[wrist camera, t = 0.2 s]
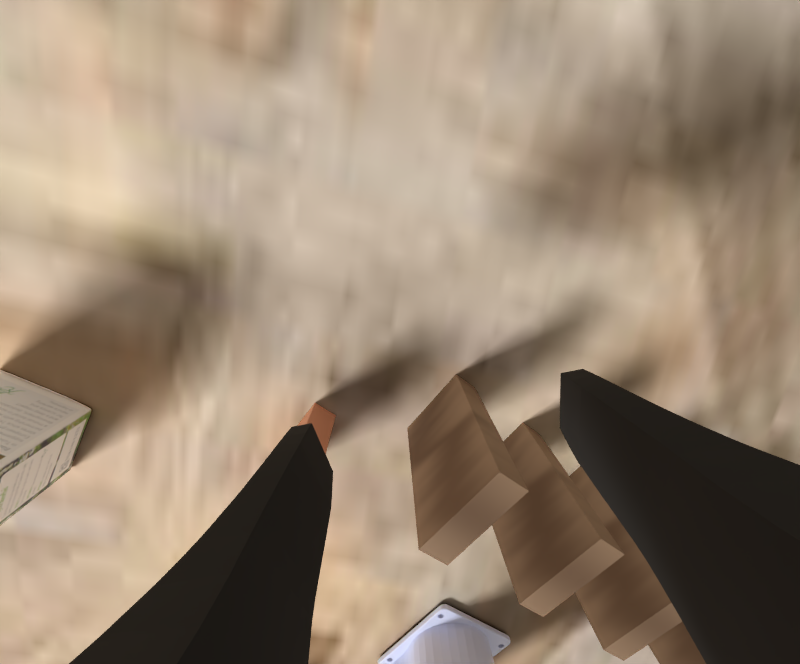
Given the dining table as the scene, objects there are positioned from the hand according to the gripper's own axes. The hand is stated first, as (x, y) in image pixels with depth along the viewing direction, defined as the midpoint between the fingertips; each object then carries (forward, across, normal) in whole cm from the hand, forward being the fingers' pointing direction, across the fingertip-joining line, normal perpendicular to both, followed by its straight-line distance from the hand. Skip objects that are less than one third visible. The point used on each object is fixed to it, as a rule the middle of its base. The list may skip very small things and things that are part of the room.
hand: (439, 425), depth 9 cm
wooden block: (+9, -4, +12) cm, 16 cm away
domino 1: (+10, 0, +8) cm, 12 cm away
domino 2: (+8, -8, +17) cm, 20 cm away
